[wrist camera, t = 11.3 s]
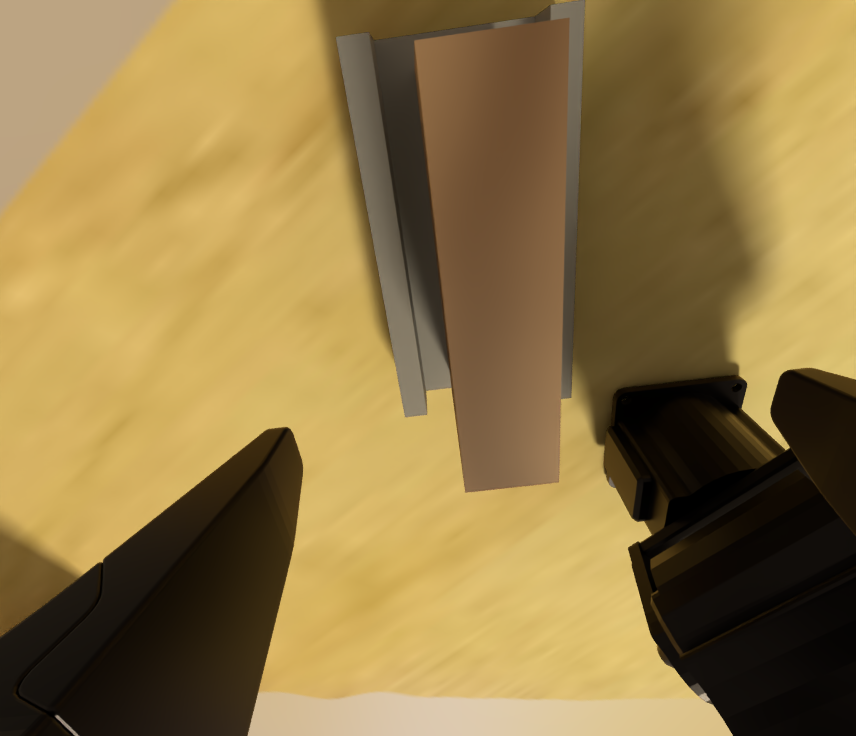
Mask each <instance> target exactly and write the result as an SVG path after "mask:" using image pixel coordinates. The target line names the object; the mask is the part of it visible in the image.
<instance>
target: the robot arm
mask: <svg viewBox="0 0 856 736" xmlns="http://www.w3.org/2000/svg"><path fill="white" fill-rule="evenodd" d="M735 384H736V386H734V385H735ZM733 386H734V387H733ZM746 388H747V383H746V381H745V380H744V379H743V378H741V377H740V376H738V375H732V376H723V377H715V378H706V379H698V380H689V381H681V382H672V383H663V384H655V385H646V386H638V387H629V388H623V389H620V390H618V391H617V392H616V393H615V394H614V397H613V408H612V419H611V426H609V428H608V429H607V430H606V441H605V453H604V466H605V468H606V470H607V476H606V478H607V481H608V483H609V485H610V486H611V487H614V488H616V489H617V491H618V493H619V495H620V497H621V499H622V501H623V502H624V504H625V506H626V508H627V510H628V512H629V514H630V516H631V517H632V518H633V519H634V520H635V521H637V522H640V521H644V522H645V523H646V525H647V527H648V529H649V531H650V532H651V534H652V535H651V536H650V537H648V538H647V539H645V540H644V541H642V542H636V543H635V544H633V545H632V546H630V547H628V550H629V554H630V558H631V561H632V569H633V572H634V576H635V579H636V583H637V587H638V590H639V594H640V598H641V601H642V605H643V609H644V612H645V616H646V620H647V623H648V627H649V630H650V634H651V636H652V638H653V640H654V641H655V642H656V644H657V650H658V653H659V655H660V657H661V659H662V660H663V661H664V663H665V664H666V665H668V666H670V667H673V668H675V670H676V671H677V673H678V674H679V675H680V677H681V678H682V679H683V680H684V681H685V683H686V684H687V685H688V686H689V687H690V688H691V689H692V690H693V691H694V692H695V693H696V694H697V695H698V696H699V697H700V698H701V699H703V700H704V701H705V702H707V703H710V704H713V705H714V707H715V708H716V710H717V711H718V712H719V714H720V715H721V717H722V718H723V720H724V721H725V723H726V725H727V726H728V728H729V730H730V731H731V733H732V734H733V736H856V380H855V379H852V378H848V377H844V376H840V375H837V374H833V373H829V372H825V371H822V370H818V369H814V368H801V369H793V370H787V371H785V372H784V373H783V374H782V375H781V376H780V378H779V381H778V385H777V388H776V391H775V395H774V398H773V401H772V405H771V412H770V413H771V417H772V420H773V422H774V424H775V425H776V427H777V428H778V430H779V431H780V433H781V434H782V436H783V437H784V439H785V440H786V442H787V443H788V445H789V446H790V448H789V449H787V450H785V449H784V448H783V447H782V446H781V445H780V444H778V443H777V442H776V441H775V440H774V439H773V438H772V437H771V436H770V435H769V434H768V433H767V432H765V431H764V430H763V429H762V428H761V427H760V426H759V425H758V424H757V423H756V422H755V421H754V420H753V419H751V418H750V417H749V416H748V415H747V414H746V413H745V412H744V411H743V410H742V409H741V408H742V404H743V400H744V396H745V392H746ZM626 396H628V398H627V399H626V400H622V399H623V398H624V397H626ZM302 477H303V463H302V459H301V456H300V453H299V450H298V447H297V444H296V441H295V438H294V435H293V432H292V431H291V429H290V428H288V427H282V428H273V429H268V430H266V431H264V432H263V433H262V434H261V435H259V436H258V437H257V438H256V439H254V440H253V441H252V442H251V443H249V444H248V445H247V446H245V447H244V448H243V449H242V450H240V451H239V452H238V453H237V454H235V455H234V456H233V457H232V458H230V459H229V460H228V461H227V462H225V463H224V464H223V465H221V466H220V467H219V468H218V469H216V470H215V471H214V472H213V473H211V474H210V475H209V476H208V477H206V478H205V479H204V480H203V481H201V482H200V483H199V484H197V485H196V486H195V487H194V488H192V489H191V490H190V491H189V492H187V493H186V494H185V495H184V496H182V497H181V498H180V499H179V500H177V501H176V502H175V503H173V504H172V505H171V506H170V507H168V508H167V509H166V510H165V511H163V512H162V513H161V514H160V515H158V516H157V517H156V518H154V519H153V520H152V521H151V522H149V523H148V524H147V525H146V526H144V527H143V528H142V529H141V530H139V531H138V532H137V533H136V534H134V535H133V536H132V537H130V538H129V539H128V540H127V541H125V542H124V543H123V544H122V545H120V546H119V547H118V548H117V549H115V550H114V551H113V552H111V553H110V554H109V555H108V556H106V557H105V558H104V560H103V563H102V562H100V563H97V564H96V565H95V566H94V567H92V568H91V569H90V570H89V571H87V572H86V573H85V574H84V575H82V576H81V577H80V578H79V579H77V580H76V581H75V582H74V583H72V584H71V585H70V586H68V587H67V588H66V589H64V590H63V591H62V592H60V593H59V594H58V595H57V596H55V597H54V598H53V599H51V600H50V601H49V602H47V603H46V604H45V605H44V606H42V607H41V608H40V609H38V610H37V611H36V612H34V613H33V614H32V615H30V616H29V617H27V618H26V619H25V620H23V621H22V622H21V623H19V624H18V625H16V626H15V627H14V628H12V629H11V630H9V631H8V632H7V633H5V634H4V635H3V636H1V637H0V736H247V735H248V731H249V727H250V723H251V718H252V715H253V711H254V707H255V703H256V699H257V695H258V691H259V687H260V683H261V678H262V674H263V670H264V666H265V662H266V658H267V654H268V650H269V646H270V642H271V638H272V634H273V630H274V625H275V621H276V617H277V613H278V609H279V605H280V601H281V597H282V593H283V589H284V585H285V581H286V577H287V573H288V568H289V564H290V560H291V556H292V551H293V547H294V540H295V534H296V526H297V518H298V509H299V501H300V493H301V485H302Z"/></svg>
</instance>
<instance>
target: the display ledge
mask: <svg viewBox="0 0 856 736" xmlns="http://www.w3.org/2000/svg"><path fill="white" fill-rule="evenodd" d="M584 15H585V0H579V1H573V2H566V3H559V4H553V5H550V6H548V7H547V8H546V9H544V10H543V11H542V12H540V13H539V14H538V15H536V16H535V17H528V18H521V19H515V20H508V21H501V22H495V23H488V24H481V25H474V26H468V27H461V28H454V29H448V30H441V31H434V32H427V33H421V34H414V35H407V36H401V37H394V38H387V39H380V40H373V38H372V36H371V35H370V33H369V32H366V33H359V34H352V35H346V36H339V37H336V41H337V47H338V52H339V58H340V63H341V69H342V74H343V80H344V85H345V91H346V96H347V102H348V107H349V113H350V118H351V124H352V129H353V135H354V140H355V146H356V151H357V156H358V162H359V167H360V173H361V178H362V184H363V189H364V195H365V200H366V206H367V211H368V217H369V222H370V228H371V233H372V239H373V244H374V250H375V255H376V261H377V266H378V272H379V277H380V283H381V288H382V294H383V299H384V305H385V310H386V316H387V321H388V327H389V332H390V338H391V343H392V349H393V354H394V360H395V365H396V371H397V376H398V382H399V387H400V392H401V398H402V403H403V409H404V414H405V417H412V416H420V415H427V397H426V391H428V390H437V389H445V388H452V387H451V380H450V372H449V364H448V355H447V347H446V338H445V329H444V321H443V312H442V304H441V295H440V286H439V278H438V269H437V260H436V252H435V243H434V234H433V226H432V217H431V209H430V200H429V191H428V183H427V174H426V165H425V157H424V148H423V140H422V131H421V122H420V114H419V105H418V96H417V88H416V79H415V70H414V40H420V39H427V38H434V37H441V36H448V35H454V34H461V33H468V32H475V31H482V30H488V29H495V28H502V27H509V26H516V25H522V24H529V23H536V22H543V21H550V20H556V19H563V18H570V23H569V67H568V111H567V155H566V199H565V243H564V287H563V331H562V375H561V399H566V398H571V391H572V362H573V333H574V304H575V275H576V246H577V218H578V189H579V160H580V131H581V102H582V73H583V44H584Z"/></svg>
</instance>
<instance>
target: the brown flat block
mask: <svg viewBox="0 0 856 736" xmlns="http://www.w3.org/2000/svg"><path fill="white" fill-rule="evenodd" d="M569 23H570V18H563V19H556V20H550V21H543V22H536V23H529V24H522V25H516V26H509V27H502V28H495V29H488V30H482V31H475V32H468V33H461V34H454V35H448V36H441V37H434V38H427V39H420V40H414V70H415V79H416V88H417V96H418V105H419V114H420V122H421V131H422V140H423V148H424V157H425V165H426V174H427V183H428V191H429V200H430V209H431V217H432V226H433V234H434V243H435V252H436V260H437V269H438V278H439V286H440V295H441V304H442V312H443V321H444V329H445V338H446V347H447V355H448V364H449V372H450V380H451V387H452V395H453V403H454V410H455V418H456V425H457V433H458V440H459V448H460V456H461V463H462V471H463V478H464V486H465V493H466V492H475V491H485V490H494V489H503V488H512V487H521V486H530V485H540V484H549V483H558V482H559V463H560V419H561V375H562V331H563V287H564V243H565V199H566V155H567V111H568V67H569Z"/></svg>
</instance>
